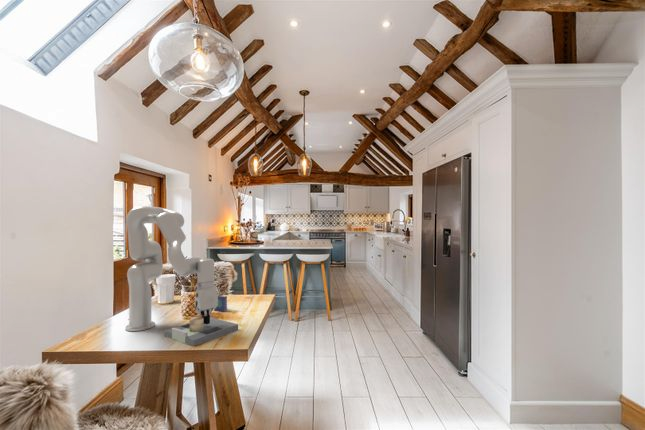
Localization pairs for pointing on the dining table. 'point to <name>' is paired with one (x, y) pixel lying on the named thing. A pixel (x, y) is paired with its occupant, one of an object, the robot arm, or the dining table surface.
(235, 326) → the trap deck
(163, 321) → the dining table surface
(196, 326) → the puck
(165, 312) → the dining table surface
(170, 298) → the cup
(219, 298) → the blue box
